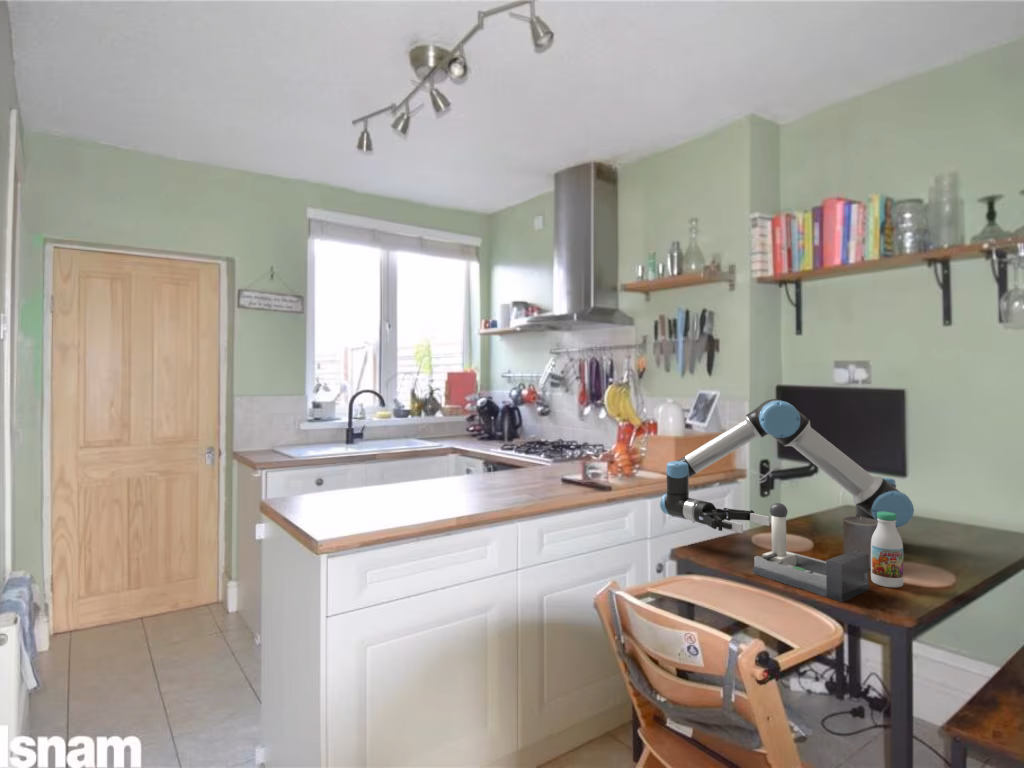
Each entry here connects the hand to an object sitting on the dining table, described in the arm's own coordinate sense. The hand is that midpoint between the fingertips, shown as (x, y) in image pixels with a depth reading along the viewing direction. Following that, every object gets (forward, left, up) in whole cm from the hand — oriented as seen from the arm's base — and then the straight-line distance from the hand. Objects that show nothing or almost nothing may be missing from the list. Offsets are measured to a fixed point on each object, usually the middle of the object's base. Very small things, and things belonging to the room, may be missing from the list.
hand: (756, 525), depth 179 cm
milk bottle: (-33, +9, -13) cm, 37 cm away
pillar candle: (-32, -7, -13) cm, 35 cm away
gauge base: (-12, +11, -13) cm, 21 cm away
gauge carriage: (-4, +6, -11) cm, 13 cm away
